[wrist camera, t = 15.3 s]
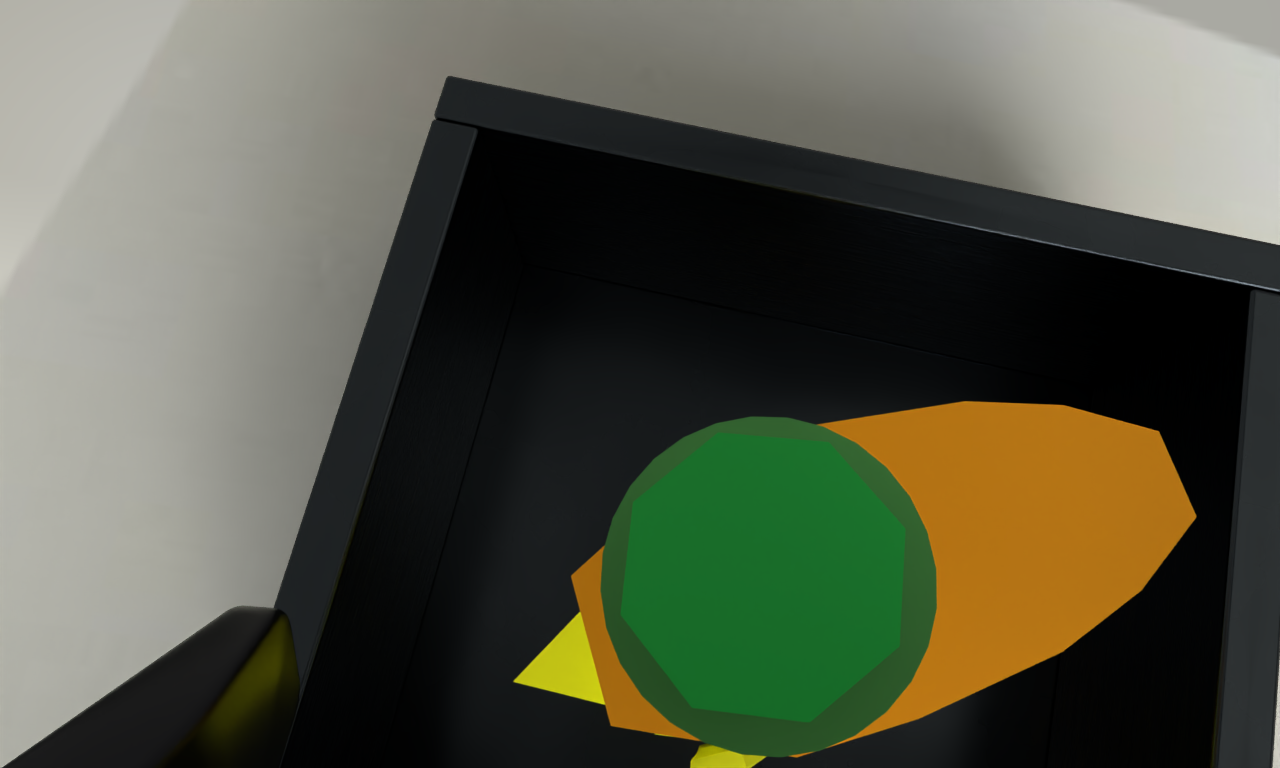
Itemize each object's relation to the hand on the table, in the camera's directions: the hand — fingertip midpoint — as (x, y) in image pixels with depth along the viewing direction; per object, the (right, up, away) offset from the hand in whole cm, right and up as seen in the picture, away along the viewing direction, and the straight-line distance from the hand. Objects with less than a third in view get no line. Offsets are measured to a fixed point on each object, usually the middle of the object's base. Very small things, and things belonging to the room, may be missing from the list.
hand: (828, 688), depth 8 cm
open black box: (0, -1, +9) cm, 10 cm away
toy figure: (0, -2, +9) cm, 9 cm away
